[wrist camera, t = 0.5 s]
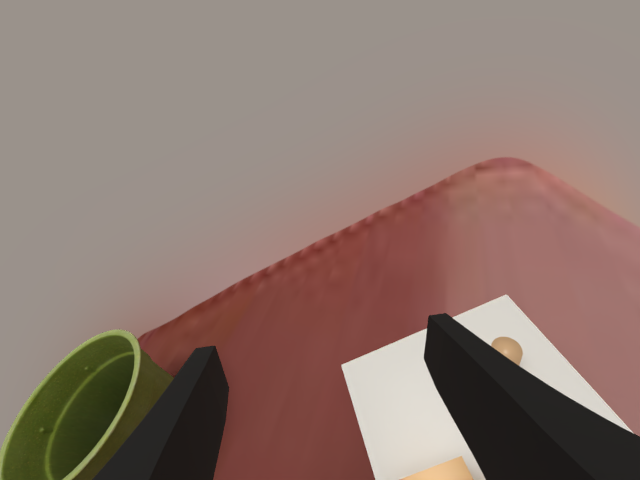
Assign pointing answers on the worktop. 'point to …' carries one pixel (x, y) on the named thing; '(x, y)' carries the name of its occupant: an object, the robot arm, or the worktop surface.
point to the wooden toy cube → (444, 471)
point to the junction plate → (425, 402)
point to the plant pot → (83, 410)
